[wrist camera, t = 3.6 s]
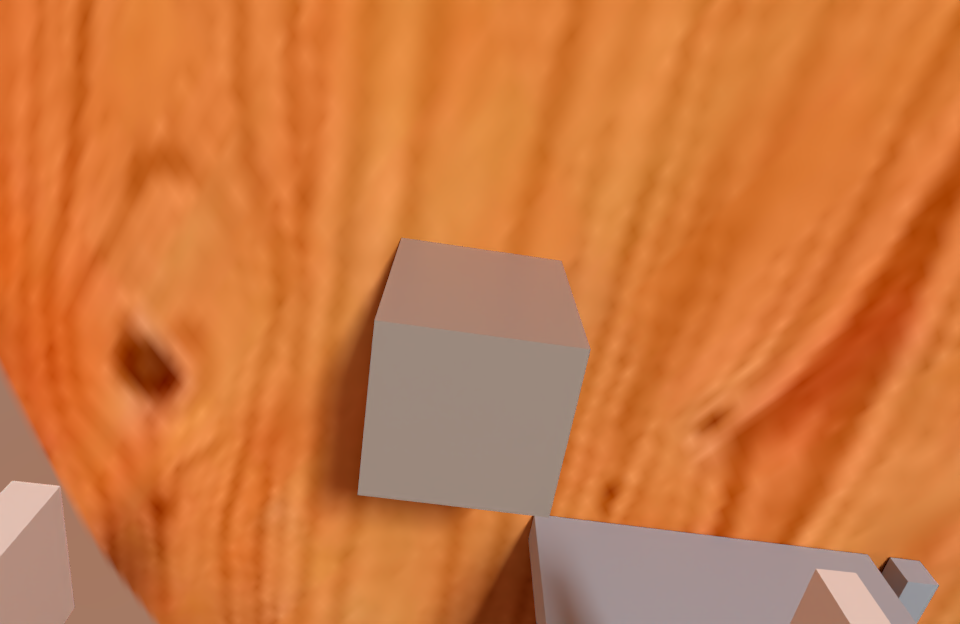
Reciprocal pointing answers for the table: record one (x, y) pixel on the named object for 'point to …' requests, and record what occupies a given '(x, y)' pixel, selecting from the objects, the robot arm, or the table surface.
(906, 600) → the hatch frame
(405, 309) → the plain grey cube
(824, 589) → the robot arm
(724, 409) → the table surface
